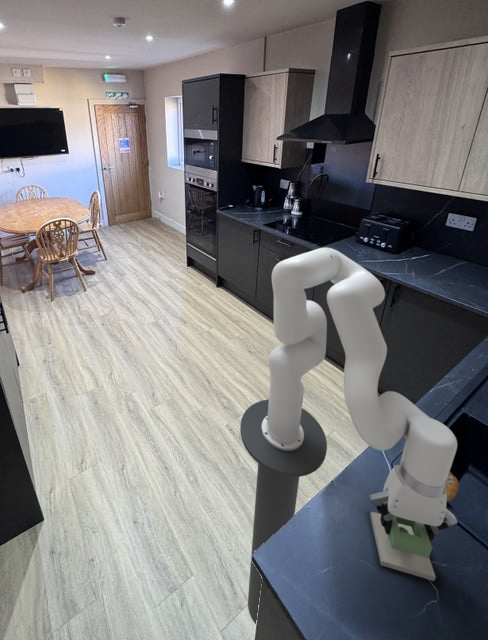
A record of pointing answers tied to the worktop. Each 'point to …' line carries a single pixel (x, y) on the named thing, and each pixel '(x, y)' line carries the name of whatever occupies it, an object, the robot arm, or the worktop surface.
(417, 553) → the green hollow square block
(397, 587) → the worktop surface
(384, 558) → the base pad
